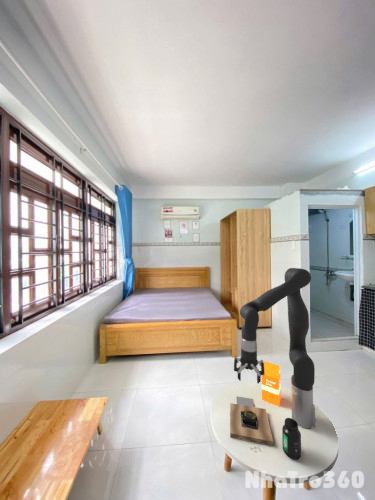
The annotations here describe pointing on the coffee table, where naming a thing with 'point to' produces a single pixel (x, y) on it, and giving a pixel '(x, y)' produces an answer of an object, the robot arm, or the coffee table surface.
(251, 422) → the tape measure
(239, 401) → the mat
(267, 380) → the orange juice
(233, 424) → the board
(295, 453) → the supplement bottle
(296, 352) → the robot arm
